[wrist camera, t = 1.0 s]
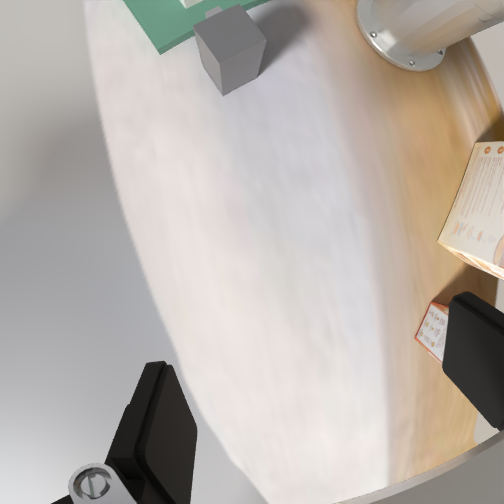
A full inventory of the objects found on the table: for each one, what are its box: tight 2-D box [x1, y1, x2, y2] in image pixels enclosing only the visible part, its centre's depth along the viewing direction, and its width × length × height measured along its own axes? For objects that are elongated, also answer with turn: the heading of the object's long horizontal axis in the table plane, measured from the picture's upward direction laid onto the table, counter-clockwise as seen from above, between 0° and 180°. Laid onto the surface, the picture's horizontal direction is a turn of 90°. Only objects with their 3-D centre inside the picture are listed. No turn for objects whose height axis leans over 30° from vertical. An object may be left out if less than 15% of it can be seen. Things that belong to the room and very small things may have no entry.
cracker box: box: [415, 302, 449, 365], centre depth 27 cm, size 14×6×21 cm, turn 73°
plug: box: [192, 4, 267, 96], centre depth 23 cm, size 4×5×10 cm
